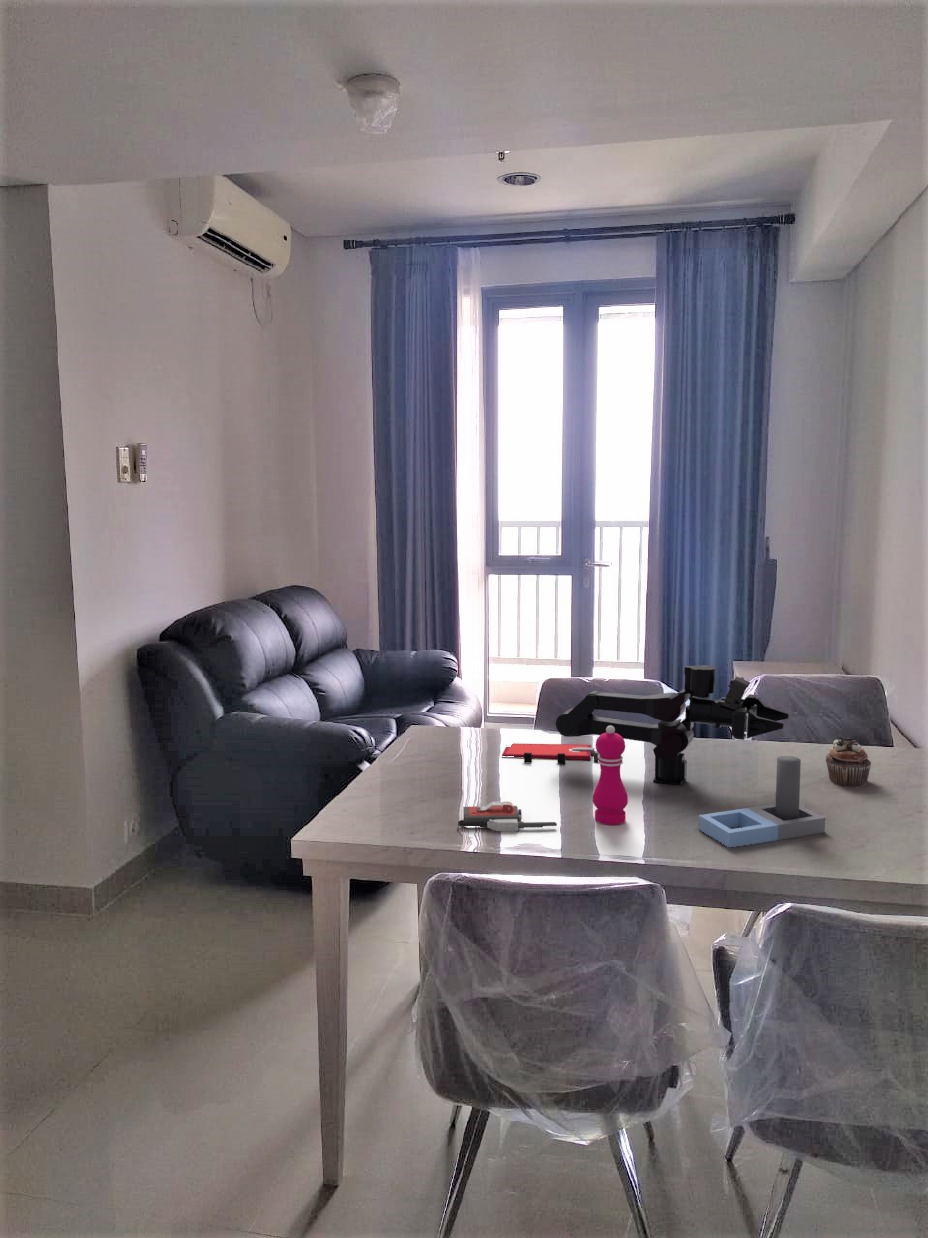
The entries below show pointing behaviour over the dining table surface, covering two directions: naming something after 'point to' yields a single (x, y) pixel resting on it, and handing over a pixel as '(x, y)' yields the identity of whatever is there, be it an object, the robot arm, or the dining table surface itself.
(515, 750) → the red board with handle
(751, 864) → the dining table surface
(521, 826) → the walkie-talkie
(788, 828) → the two-hole peg board
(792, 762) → the plug
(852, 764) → the cupcake
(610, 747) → the pepper mill
